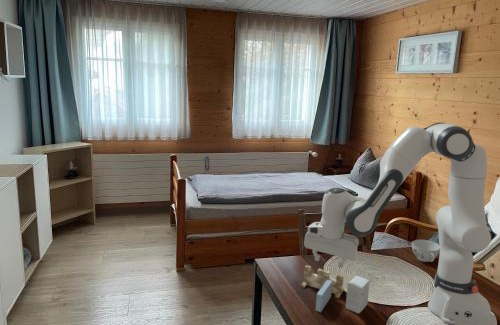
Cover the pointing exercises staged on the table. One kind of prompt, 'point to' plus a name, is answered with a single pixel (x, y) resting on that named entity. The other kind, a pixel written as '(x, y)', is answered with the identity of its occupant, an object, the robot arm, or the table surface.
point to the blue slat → (323, 295)
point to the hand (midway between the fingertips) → (328, 263)
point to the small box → (357, 294)
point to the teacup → (425, 250)
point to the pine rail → (322, 280)
